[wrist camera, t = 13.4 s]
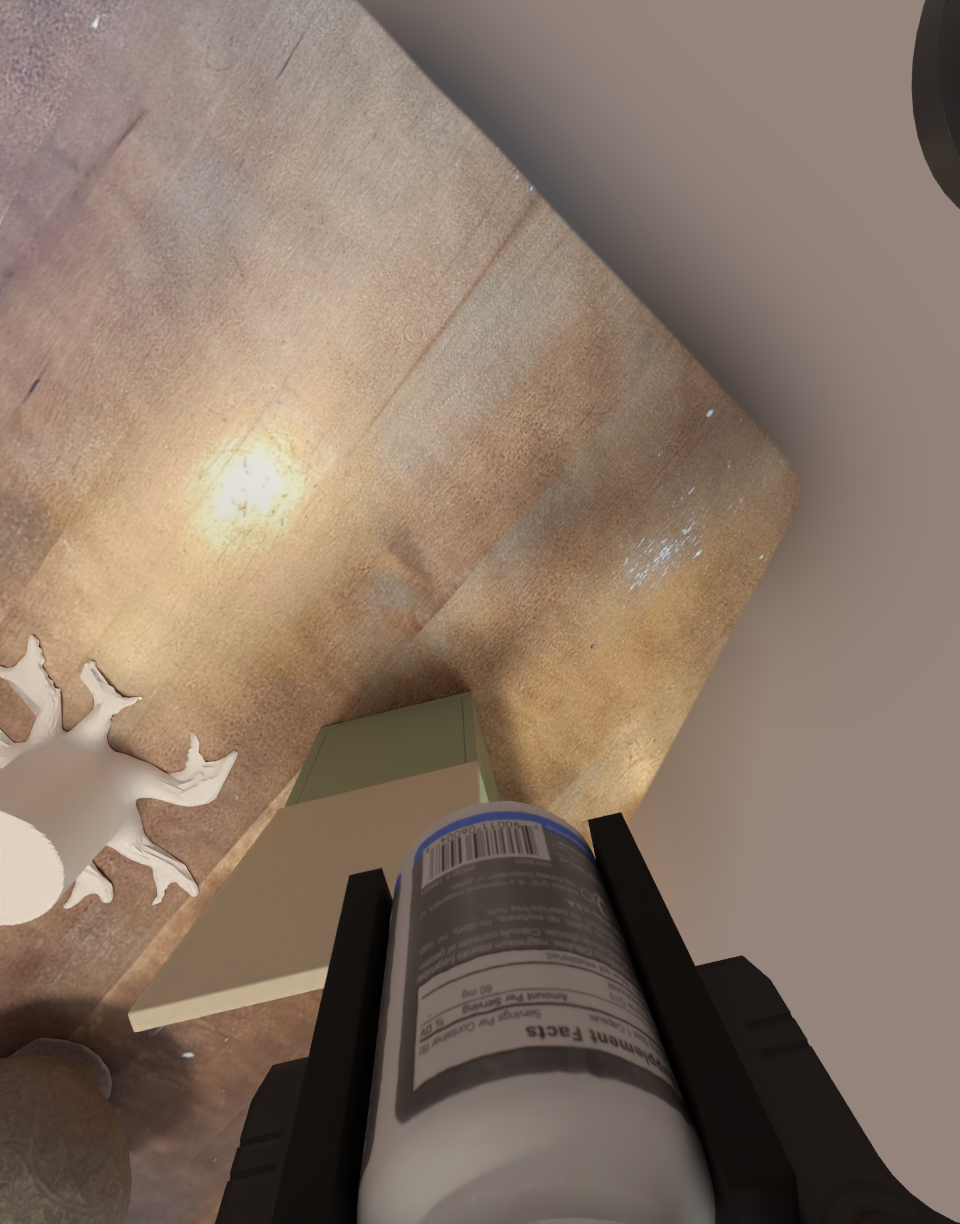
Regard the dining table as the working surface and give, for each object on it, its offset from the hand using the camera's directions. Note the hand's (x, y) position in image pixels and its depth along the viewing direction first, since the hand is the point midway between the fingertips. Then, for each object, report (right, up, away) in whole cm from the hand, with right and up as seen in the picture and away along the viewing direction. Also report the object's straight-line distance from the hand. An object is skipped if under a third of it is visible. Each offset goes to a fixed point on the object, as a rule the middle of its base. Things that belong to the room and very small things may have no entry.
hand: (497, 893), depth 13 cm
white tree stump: (-33, -8, +33) cm, 48 cm away
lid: (-6, -6, +14) cm, 17 cm away
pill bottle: (0, 0, 0) cm, 1 cm away
